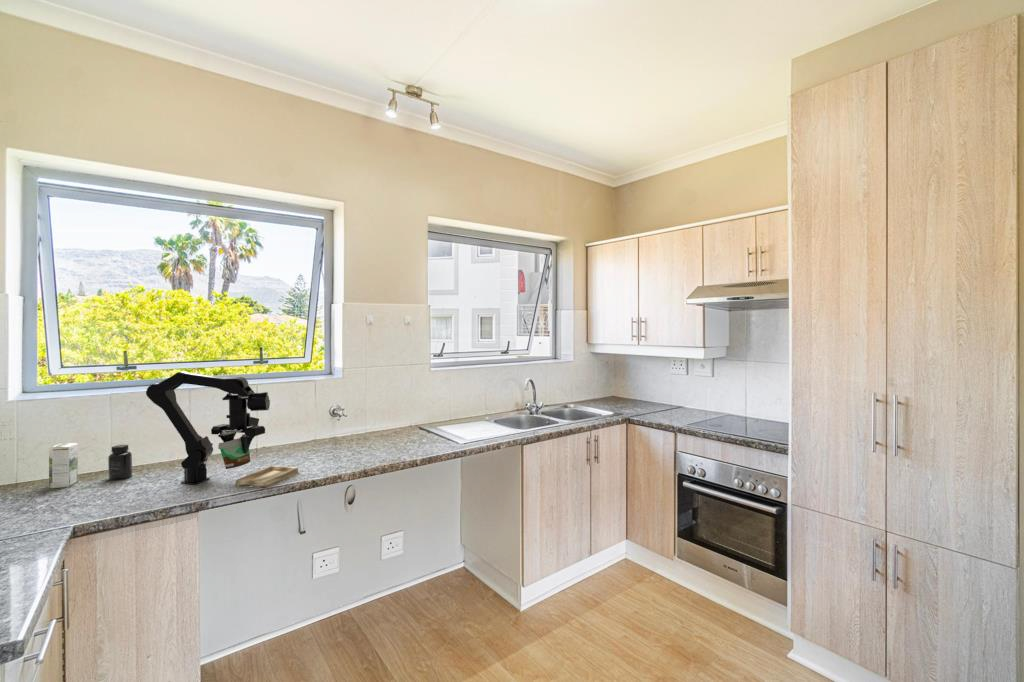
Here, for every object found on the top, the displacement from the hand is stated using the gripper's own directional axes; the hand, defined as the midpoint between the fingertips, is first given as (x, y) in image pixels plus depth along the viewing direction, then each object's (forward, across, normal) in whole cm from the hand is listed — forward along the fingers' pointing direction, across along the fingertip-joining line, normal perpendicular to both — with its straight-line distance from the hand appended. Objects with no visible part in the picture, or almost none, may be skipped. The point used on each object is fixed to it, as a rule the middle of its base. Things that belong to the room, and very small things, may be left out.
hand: (238, 453), depth 174 cm
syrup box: (+10, +55, +19) cm, 59 cm away
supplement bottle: (+10, +44, +8) cm, 46 cm away
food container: (+4, -1, 0) cm, 5 cm away
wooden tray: (+10, -11, -2) cm, 15 cm away
